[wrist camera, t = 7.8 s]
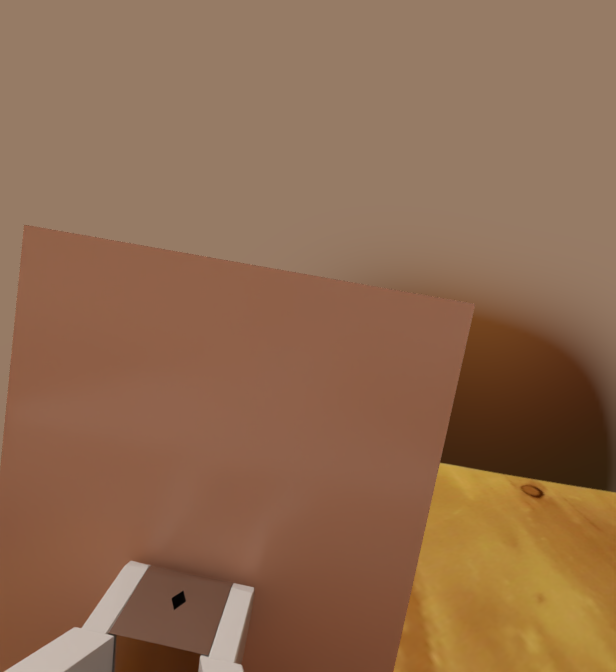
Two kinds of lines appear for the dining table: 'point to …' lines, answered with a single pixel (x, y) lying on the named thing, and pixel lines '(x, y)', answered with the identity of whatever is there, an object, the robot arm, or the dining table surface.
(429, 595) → the dining table surface
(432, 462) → the tile
